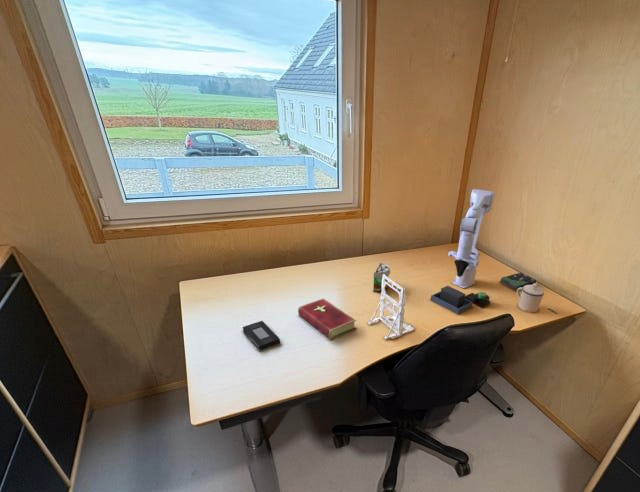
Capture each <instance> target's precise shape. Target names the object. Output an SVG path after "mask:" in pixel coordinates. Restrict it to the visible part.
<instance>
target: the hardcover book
mask: <svg viewBox="0 0 640 492" xmlns="http://www.w3.org/2000/svg"><path fill="white" fill-rule="evenodd" d="M297 315H298V316H299V317H300V318H301V319H303V320H304V321H306V322H307V323H308V324H309V325H311V326H312V327H313V328H315V329H316V330H317V331H318V332H320V333H321V334H323V335H324V336H325V337H326V338H327V339H329V340H330V341H332V340H334V339H336V338H338V337H340V336H342V335H345V334H347V333H349V332H350V333H351V332H352V331H354V330H356V327H355V322H356V321H357V320H356V319H355V318H353V317H352V316H351V315H349V314H347V313H345V312H344V311H343V310H342V309H340V308H338V307H337V306H335V305H334V304H333V303H331V302H330V301H329V300H327V299H325V298H320V299H317V300H315V301H312V302H309V303H305V304H303V305H300V306H299V307H298V308H297Z"/></svg>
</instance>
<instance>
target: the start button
mask: <svg viewBox="0 0 640 492" xmlns="http://www.w3.org/2000/svg"><path fill="white" fill-rule="evenodd" d="M478 293H479V294H478V298H480V299H486V296H487V295H488V294H487V293H486V292H484V291H480V292H478Z"/></svg>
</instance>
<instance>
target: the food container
mask: <svg viewBox="0 0 640 492" xmlns="http://www.w3.org/2000/svg"><path fill="white" fill-rule="evenodd" d="M383 274H385V276H387V277H388V278H389V276H390V274H391V269H390V266H389V265H388V264H386V263H383V262H379V265H378V267H377V268H376V270H375V272H373V293H382V278H383ZM385 281H386V282H387V283H388V280H386V279H385ZM387 286H388V285H387V284H386V286H385V291H386V290H387Z"/></svg>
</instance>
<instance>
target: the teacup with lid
mask: <svg viewBox="0 0 640 492" xmlns="http://www.w3.org/2000/svg"><path fill="white" fill-rule="evenodd" d="M520 290H521V292H520ZM520 293H521V294H520ZM516 295H517V297H518V298H519V300H518V304H517V306H518V308H519V309H520V310H522V311H524V312H527V313H536V312H538V311H539V309H540V305H541V304H542V303H541V302H542V300H543V296H544V295H545V290H544V289H543V288H542V287H540V286H538V283H536V284H535V283H534V284H533V285H525V286H524V287H523V288H522V287H520V288H518V289H517V290H516Z"/></svg>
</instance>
